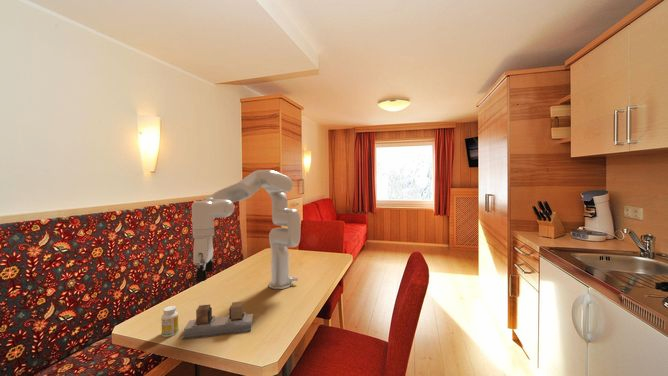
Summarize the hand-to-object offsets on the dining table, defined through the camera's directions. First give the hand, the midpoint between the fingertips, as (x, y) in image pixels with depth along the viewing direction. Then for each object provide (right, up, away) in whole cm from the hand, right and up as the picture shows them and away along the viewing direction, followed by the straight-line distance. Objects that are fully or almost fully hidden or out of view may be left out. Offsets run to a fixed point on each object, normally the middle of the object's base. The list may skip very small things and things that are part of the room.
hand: (205, 275), depth 102 cm
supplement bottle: (-12, -21, -3) cm, 24 cm away
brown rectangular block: (0, -18, -1) cm, 18 cm away
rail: (+6, -21, 0) cm, 21 cm away
